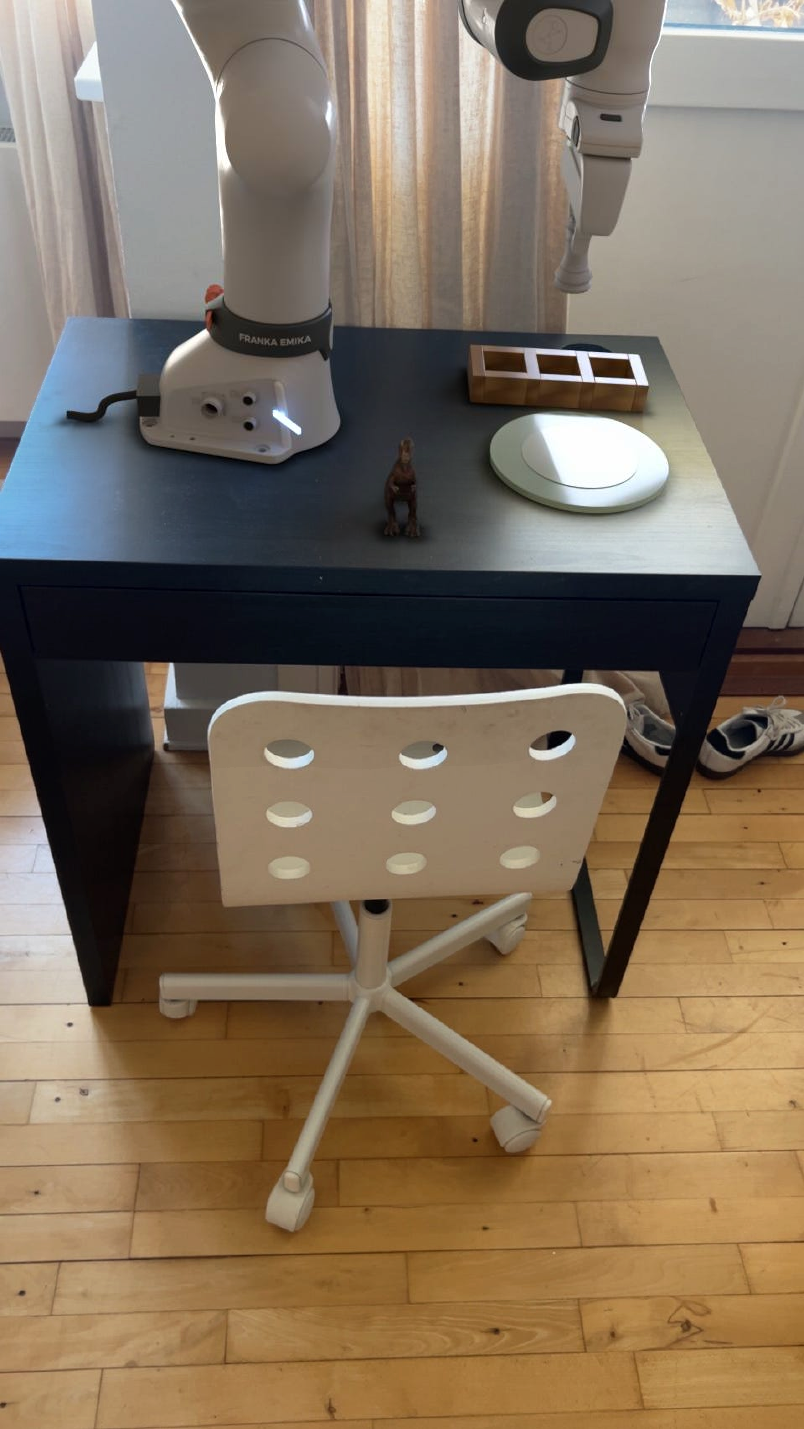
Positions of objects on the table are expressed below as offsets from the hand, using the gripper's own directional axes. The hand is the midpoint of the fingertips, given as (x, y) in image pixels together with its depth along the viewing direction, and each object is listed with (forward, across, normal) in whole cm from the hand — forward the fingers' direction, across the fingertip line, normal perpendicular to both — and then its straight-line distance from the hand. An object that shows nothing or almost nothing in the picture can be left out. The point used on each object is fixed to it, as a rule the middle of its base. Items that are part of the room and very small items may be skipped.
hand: (576, 245), depth 130 cm
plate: (+18, +17, +2) cm, 25 cm away
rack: (+18, 0, +1) cm, 18 cm away
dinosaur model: (+19, +28, -18) cm, 38 cm away
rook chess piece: (+5, 0, 0) cm, 5 cm away
